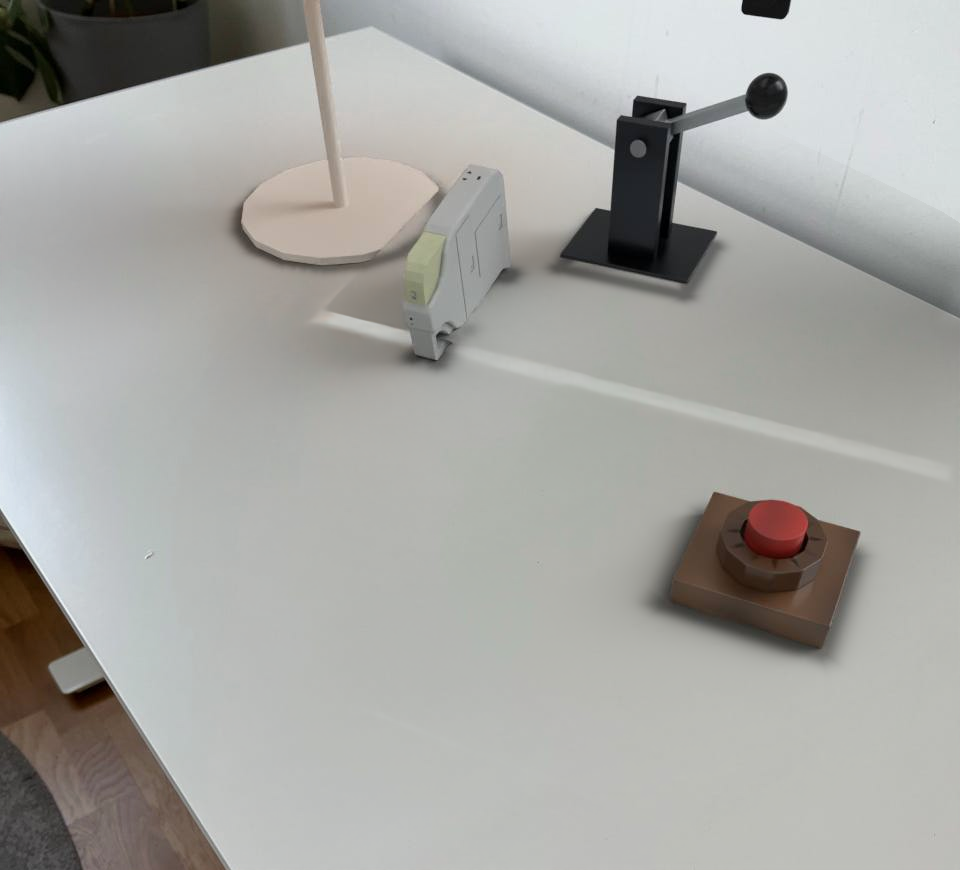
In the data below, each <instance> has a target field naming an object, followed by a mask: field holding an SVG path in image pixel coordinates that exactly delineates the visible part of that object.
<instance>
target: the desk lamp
mask: <svg viewBox="0 0 960 870" xmlns="http://www.w3.org/2000/svg"><path fill="white" fill-rule="evenodd" d="M302 5H303V11H304V17H305V23H306V31H307V37H308V44H309V49H310V56H311V63H312V69H313V76H314V82H315V88H316V94H317V101H318V108H319V114H320V120H321V128H322V133H323V140H324V147H325V152H326V159H321V160H317V161H313V162H309V163H306V164H303V165H302V164H301V165H299V166H294V167H291V168H288V169H286V170H284V171H282V172H280V173H279V174H276V175H274V176H272V177H270V178H269V179H267V180H265V181H263V182H261V183H260V184H259V185H258V186H257V187H256V188H255V189H254V190H253V192H252V193H251V194H250V195H249V196H248V197H247V198H246V199H245V200H244V201H243V206H242V212H241V213H242V214H241V220H240V221H241V222H240V223H241V226H242V227H241V228H242V230H243V232H244V233H245V234H246V235H247V237H248V238H249V240H250V241H251V242H252V243H253V245H254V246H255V248H257V249H259V250H261V251H263V252H265V253H268V254H270V255H272V256H274V257H277V258H279V259H281V260H283V261H287V262H295V263H301V264H309V265H315V266H331V265H344V264H358V263H366V262H368V261H373V259H374V258H375V257H376V256H377V255H378V253H380V252H381V250H383V248H385V247H386V245H388V243H390V242H391V240H392V239H394V237H395V236H396V235H397V234H398V233H399V232H400V231H401V230H403V228H404V227H405V226H406V225H407V224H408V223H409V222H410V221H411V220H412V219H413V218H414V217H415V216H416V215H417V214H418V213H419V212H420V211H421V210H422V209H423V207H424V206H425V205H426V204H427V203H428V202H429V201H430V200H431V199H432V198H433V197H434V196H435V195H437V193H438V192H439V191H440V186H438V185H437V184H436V183H435V182H434V181H433V180H432V179H431V178H430V177H429V176H428V175H427V174H426V173H424V172H423V170H420V169H417V168H415V167H413V166H409V165H406V164H404V163H402V162H399V161H397V160H391V159H381V158H372V157H366V156H355V157H342V149H341V141H340V136H339V134H340V133H339V128H338V127H339V126H338V121H337V114H336V107H335V100H334V99H335V98H334V93H333V86H332V80H331V74H330V72H331V71H330V65H329V58H328V51H327V50H328V49H327V45H326V37H325V30H324V23H323V16H322V9H321V1H320V0H302Z"/></svg>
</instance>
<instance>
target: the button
mask: <svg viewBox="0 0 960 870" xmlns="http://www.w3.org/2000/svg"><path fill="white" fill-rule="evenodd" d="M767 500H768V501H763V502H761V503H759V504H757V505H755V506H754V507H753V508H752V509H751V511H750V513H749V517H748V521H747V525H746V529H745V534H744V539H745V542H746V544H747V546H748V547H749V548H750V549H751V550H752V551H753V552H754V553H756V554H758V555H760V556H764V557H767V558H771V559H786V558H789V557H791V556H793V555H795V554H796V553H797V552H798V551H799V550H800V548H801V546H802V543H803V540H804V536H805V533H806V530H807V526H808V520H807V517H806V515H805V514H804V512H803V511H802V510H801V509H800V508H798V507H797V506H798V505H796V504H793V503H791V502H789V501H785V500H780V499H767ZM795 505H796V506H795Z"/></svg>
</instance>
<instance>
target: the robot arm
mask: <svg viewBox="0 0 960 870" xmlns="http://www.w3.org/2000/svg"><path fill="white" fill-rule="evenodd" d="M791 3H792V0H742V1H741V6H740V9H741V14H742V15H746V16H751V17H757V18H758V17H760V18H768V19H772V20H784V19H785V18H787V16H788V14H789V13H790V8H791Z"/></svg>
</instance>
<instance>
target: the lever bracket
mask: <svg viewBox="0 0 960 870" xmlns="http://www.w3.org/2000/svg"><path fill="white" fill-rule="evenodd" d="M687 105H688V103H687V102H682V101H676V100H669V99H663V98H657V97H650V96H643V95H636V96H634V98H633V100H632V111H631V116H628V115H624V114H620V115H619V116H618V118H617V119H616V124H615V125H616V126H615V139H614V154H613V169H612V181H611V195H610V209H604V208H599V207H595V208H594V209H593V210H592V212H591V213H590V215H589V216H588V217H587V218H586V219H585V222H584V223H583V224H582V225H581V227H580V228H579V229H578V231H577V232H576V233H575V234H574V236H572V238H571V240H570V241H569V242H568V243H567V245H566V246H565V248H564V249H563V250H562V251H561V252H560V254H559V255H560V256H559V257H560V258H563V259H568V260H572V261H577V262H581V263H586V264H589V265H590V264H591V265H595V266H600V267H604V268H608V269H609V268H611V269H614V270H618V271H623V272H629V273H633V274H637V275H638V274H639V275H643V276H648V277H652V278H658V279H661V280H668V281H670V282H675V283H680V284H685V285H688V284H689V283H690V280H691V279H692V277H693V275H694V274H695V272H696V270H697V268H698V267H699V265H700V263H701V262H702V260H703V259H704V257H705V255H706V254H707V252H708V250H709V249H710V247H711V245H712V243H713V242H714V240H715V238H716V237H717V235H718V231H717V230H713V229H707V228H702V227H698V226H697V227H696V226H692V225H688V224H687V225H686V224H681V223H676V222H673V221H674V220H673V219H674V212H675V203H676V195H677V188H678V187H677V186H678V179H679V172H680V163H681V156H682V155H681V154H682V145H683V138H684V131H683V132H680V133H677V134H674V135H673V139H672V140H671V141H670V134H671V125H672V124H671V123H666V122H660V121H654V120H648V119H642V118H639V117H642V116H645V115H648V114H651V113H654V112H657V111H660V110H663V109H665V111H666V115H667V118H668V119H671V118H674V117H677V116H680V115H683V114H686V113H687Z"/></svg>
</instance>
